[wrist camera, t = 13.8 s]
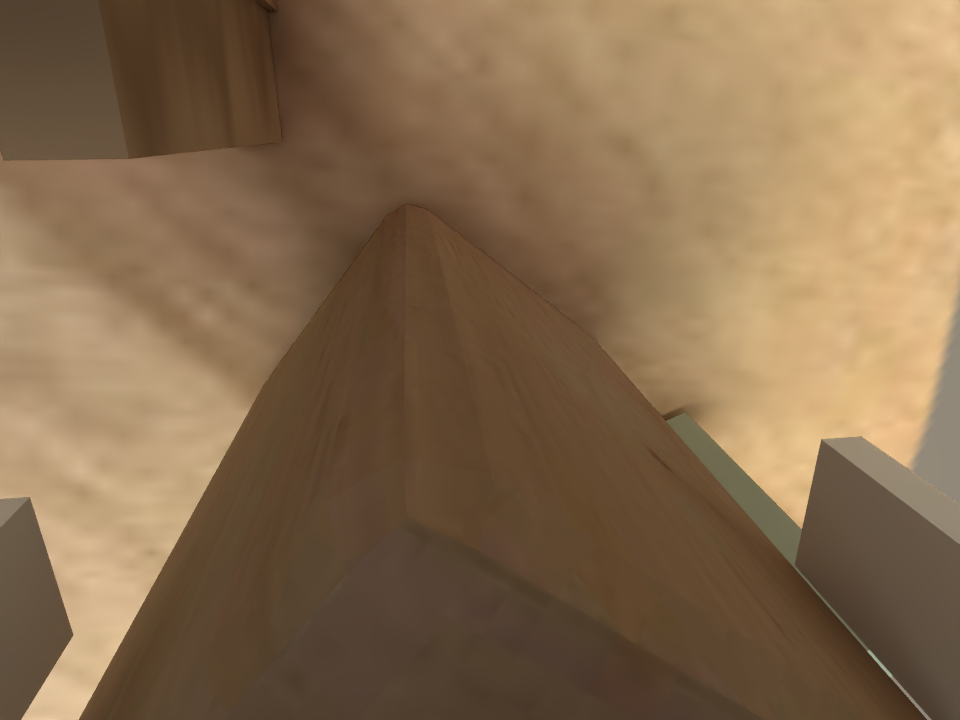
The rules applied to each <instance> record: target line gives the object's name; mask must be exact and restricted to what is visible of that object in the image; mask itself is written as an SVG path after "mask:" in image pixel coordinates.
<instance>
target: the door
mask: <svg viewBox="0 0 960 720" xmlns="http://www.w3.org/2000/svg"><path fill="white" fill-rule="evenodd" d="M666 422H667V423H668V424H669V425H670V426H671V427H672V429H673V430H674V431H675V432H676V433H677V434H678V436H679V437H680V438H681V439H682V440H683V441H684V442H685V444H686V445H687V446H688V447H689V448H690V449H691V450H692V452H693V453H694V454H695V455H696V456H697V457H698V458H699V460H700V461H701V462H702V463H703V464H704V465H705V466H706V468H707V469H708V470H709V471H710V472H711V473H712V474H713V476H714V477H715V478H716V479H717V480H718V481H719V482H720V484H721V485H722V486H723V487H724V488H725V489H726V490H727V492H728V493H729V494H730V495H731V496H732V497H733V498H734V500H735V501H736V502H737V503H738V504H739V505H740V506H741V508H742V509H743V510H744V511H745V512H746V513H747V514H748V516H749V517H750V518H751V519H752V520H753V521H754V522H755V524H756V525H757V526H758V527H759V528H760V529H761V530H762V532H763V533H764V534H765V535H766V536H767V537H768V538H769V540H770V541H771V542H772V543H773V544H774V545H775V546H776V548H777V549H778V550H779V551H780V552H781V553H782V554H783V556H784V557H785V558H786V559H787V560H788V561H789V562H790V564H791V565H792V566H793V567H794V568H795V569H796V570H797V572H798V573H799V574H800V575H801V576H802V577H803V578H804V580H805V581H806V582H807V583H808V584H809V585H810V586H811V588H812V589H813V590H814V591H815V592H816V593H817V595H818V596H819V597H820V598H821V599H822V600H823V601H824V603H825V604H826V605H827V606H828V607H829V608H830V609H831V611H832V612H833V613H834V614H835V615H836V616H837V617H838V619H839V620H840V621H841V622H842V623H843V624H844V625H845V627H846V628H847V629H848V630H849V631H850V632H851V633H852V635H853V636H854V637H855V638H856V639H857V640H858V641H859V643H860V644H861V645H862V646H863V647H864V648H865V649H866V651H867V652H868V653H869V654H870V655H871V656H872V657H873V659H874V660H875V661H876V662H877V663H878V664H879V665H880V667H881V668H882V669H883V670H884V671H885V672H886V673H887V675H888V676H889V677H890V678H891V677H893V676H892V674H891V673H890V672H889V671H888V670H887V669H886V668H885V667H884V665H883V664H882V663H881V662H880V661H879V660H878V659H877V658H876V656H875V655H874V654H873V653H872V652H871V651H870V650H869V649H868V647H867V646H866V645H865V644H864V643H863V642H862V641H861V640H860V638H859V637H858V636H857V635H856V634H855V633H854V632H853V631H852V629H851V628H850V627H849V626H848V625H847V624H846V623H845V622H844V620H843V619H842V618H841V617H840V616H839V615H838V614H837V613H836V611H835V610H834V609H833V608H832V607H831V606H830V605H829V604H828V602H827V601H826V600H825V599H824V598H823V597H822V596H821V595H820V593H819V592H818V591H817V590H816V589H815V588H814V587H813V586H812V584H811V583H810V582H809V581H808V580H807V579H806V578H805V577H804V575H803V574H802V573H801V572H800V571H799V570H798V569H797V568H796V566H795V560H796V556H797V551H798V546H799V542H800V537H801V532H802V529H801V528H800V527H799V526H798V525H797V524H796V523H795V522H794V521H793V520H792V519H791V518H790V517H789V516H788V515H787V514H786V513H785V512H784V511H783V510H782V509H781V508H780V507H779V506H778V505H777V504H776V503H775V502H774V501H773V500H772V499H771V498H770V497H769V496H768V495H767V494H766V493H765V492H764V491H763V490H762V489H761V488H760V487H759V486H758V485H757V484H756V483H755V482H754V481H753V480H752V479H751V478H750V477H749V476H748V475H747V474H746V473H745V472H744V471H743V470H742V469H741V468H740V467H739V466H738V465H737V464H736V463H735V462H734V461H733V460H732V459H731V458H730V457H729V456H728V455H727V454H726V452H725V451H724V450H723V449H722V448H721V447H720V446H719V445H718V444H717V443H716V442H715V441H714V440H713V439H712V438H711V437H710V436H709V435H708V434H707V433H706V432H705V431H704V430H703V429H702V428H701V427H700V426H699V425H698V424H697V423H696V422H695V421H694V420H693V419H692V418H691V417H690V416H689V415H688V414H687V413H686V412H684V413H682V414H680V415H678V416H676V417H673V418H671V419H669V420H667V421H666Z"/></svg>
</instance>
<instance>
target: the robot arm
mask: <svg viewBox="0 0 960 720" xmlns="http://www.w3.org/2000/svg"><path fill="white" fill-rule="evenodd" d="M795 566H796V568H797V569H798V570H799V571H800V572H801V573H802V574H803V575H804V577H805V578H806V579H807V580H808V581H809V582H810V583H811V584H812V586H813V587H814V588H815V589H816V590H817V591H818V592H819V593H820V595H821V596H822V597H823V598H824V599H825V600H826V601H827V602H828V604H829V605H830V606H831V607H832V608H833V609H834V610H835V611H836V613H837V614H838V615H839V616H840V617H841V618H842V619H843V620H844V622H845V623H846V624H847V625H848V626H849V627H850V628H851V629H852V631H853V632H854V633H855V634H856V635H857V636H858V637H859V638H860V640H861V641H862V642H863V643H864V644H865V645H866V646H867V647H868V649H869V650H870V651H871V652H872V653H873V654H874V655H875V656H876V658H877V659H878V660H879V661H880V662H881V663H882V664H883V665H884V667H885V668H886V669H887V670H888V671H889V672H890V673H891V674H892V676H893V677H894V678H895V679H896V680H897V681H898V682H899V683H900V684H901V686H902V687H903V688H904V689H905V690H906V691H907V692H908V693H909V695H910V696H911V697H912V698H913V699H914V700H915V701H916V703H917V704H918V705H919V706H920V707H921V708H922V709H923V710H924V712H925V713H926V714H927V715H928V716H929V717H930V718H931V719H932V720H960V504H958V503H957V502H955V501H954V500H953V499H951V498H949V497H948V496H947V495H945V494H944V493H942V492H941V491H940V490H938V489H936V488H935V487H934V486H932V485H931V484H929V483H928V482H926V481H925V480H923V479H922V478H921V477H919V476H918V475H916V474H915V473H913V472H912V471H910V470H909V469H908V468H906V467H905V466H903V465H902V464H900V463H899V462H897V461H896V460H894V459H893V458H892V457H890V456H889V455H887V454H886V453H884V452H883V451H881V450H880V449H878V448H877V447H876V446H874V445H873V444H871V443H870V442H868V441H867V440H865V439H864V438H862V437H848V438H834V439H821V444H820V448H819V453H818V458H817V462H816V467H815V472H814V476H813V481H812V486H811V490H810V495H809V500H808V504H807V509H806V514H805V518H804V523H803V528H802V532H801V537H800V542H799V546H798V551H797V556H796V560H795ZM72 636H73V633H72V629H71V626H70V623H69V620H68V617H67V614H66V610H65V607H64V604H63V601H62V598H61V595H60V591H59V588H58V585H57V582H56V579H55V576H54V572H53V569H52V566H51V563H50V560H49V557H48V553H47V550H46V547H45V544H44V541H43V538H42V534H41V531H40V528H39V525H38V522H37V519H36V515H35V512H34V509H33V506H32V503H31V500H30V497H24V498H10V499H0V720H21V719H22V717H23V716H24V714H25V712H26V711H27V709H28V708H29V706H30V704H31V703H32V701H33V699H34V698H35V696H36V695H37V693H38V691H39V690H40V688H41V686H42V685H43V683H44V682H45V680H46V678H47V677H48V675H49V674H50V672H51V670H52V669H53V667H54V665H55V664H56V662H57V661H58V659H59V657H60V656H61V654H62V653H63V651H64V649H65V648H66V646H67V644H68V643H69V641H70V640H71V638H72Z"/></svg>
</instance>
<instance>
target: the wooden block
mask: <svg viewBox="0 0 960 720" xmlns="http://www.w3.org/2000/svg"><path fill="white" fill-rule="evenodd" d="M79 720H927V719H926V718H925V717H924V716H923V715H922V713H921V712H920V711H919V710H918V709H917V708H916V707H915V705H914V704H913V703H912V702H911V701H910V700H909V699H908V697H907V696H906V695H905V694H904V693H903V692H902V691H901V689H900V688H899V687H898V686H897V685H896V684H895V683H894V682H893V680H892V679H891V678H890V677H889V676H888V675H887V673H886V672H885V671H884V670H883V669H882V668H881V667H880V665H879V664H878V663H877V662H876V661H875V660H874V659H873V657H872V656H871V655H870V654H869V653H868V652H867V651H866V649H865V648H864V647H863V646H862V645H861V644H860V643H859V641H858V640H857V639H856V638H855V637H854V636H853V635H852V633H851V632H850V631H849V630H848V629H847V628H846V627H845V625H844V624H843V623H842V622H841V621H840V620H839V619H838V617H837V616H836V615H835V614H834V613H833V612H832V611H831V609H830V608H829V607H828V606H827V605H826V604H825V603H824V601H823V600H822V599H821V598H820V597H819V596H818V595H817V593H816V592H815V591H814V590H813V589H812V588H811V586H810V585H809V584H808V583H807V582H806V581H805V580H804V578H803V577H802V576H801V575H800V574H799V573H798V572H797V570H796V569H795V568H794V567H793V566H792V565H791V564H790V562H789V561H788V560H787V559H786V558H785V557H784V556H783V554H782V553H781V552H780V551H779V550H778V549H777V548H776V546H775V545H774V544H773V543H772V542H771V541H770V540H769V538H768V537H767V536H766V535H765V534H764V533H763V532H762V530H761V529H760V528H759V527H758V526H757V525H756V524H755V522H754V521H753V520H752V519H751V518H750V517H749V516H748V514H747V513H746V512H745V511H744V510H743V509H742V508H741V506H740V505H739V504H738V503H737V502H736V501H735V500H734V498H733V497H732V496H731V495H730V494H729V493H728V492H727V490H726V489H725V488H724V487H723V486H722V485H721V484H720V482H719V481H718V480H717V479H716V478H715V477H714V476H713V474H712V473H711V472H710V471H709V470H708V469H707V468H706V466H705V465H704V464H703V463H702V462H701V461H700V460H699V458H698V457H697V456H696V455H695V454H694V453H693V452H692V450H691V449H690V448H689V447H688V446H687V445H686V444H685V442H684V441H683V440H682V439H681V438H680V437H679V436H678V434H677V433H676V432H675V431H674V430H673V429H672V427H671V426H670V425H669V424H668V423H667V422H666V421H665V419H664V418H663V417H662V416H661V415H660V414H659V413H658V411H657V410H656V409H655V408H654V407H653V406H652V405H651V403H650V402H649V401H648V400H647V399H646V398H645V397H644V395H643V394H642V393H641V392H640V391H639V390H638V389H637V387H636V386H635V385H634V384H633V383H632V382H631V381H630V379H629V378H628V377H627V376H626V375H625V374H624V373H623V371H622V370H621V369H620V368H619V367H618V366H617V365H616V363H615V362H614V361H613V360H612V359H611V358H610V357H609V355H608V354H607V353H606V352H605V351H604V350H603V349H602V347H601V346H600V345H599V344H598V343H597V342H596V341H595V339H594V338H593V337H592V336H590V335H589V334H588V333H586V332H585V331H584V330H583V329H581V328H580V327H579V326H577V325H576V324H575V323H574V322H572V321H571V320H570V319H568V318H567V317H566V316H564V315H563V314H562V313H561V312H559V311H558V310H557V309H555V308H554V307H553V306H552V305H550V304H549V303H548V302H546V301H545V300H544V299H543V298H541V297H540V296H539V295H537V294H536V293H535V292H534V291H532V290H531V289H530V288H528V287H527V286H526V285H524V284H523V283H522V282H521V281H519V280H518V279H517V278H515V277H514V276H513V275H512V274H510V273H509V272H508V271H506V270H505V269H504V268H503V267H501V266H500V265H499V264H497V263H496V262H495V261H494V260H492V259H491V258H490V257H488V256H487V255H486V254H484V253H483V252H482V251H481V250H479V249H478V248H477V247H475V246H474V245H473V244H472V243H470V242H469V241H468V240H466V239H465V238H464V237H463V236H461V235H460V234H459V233H457V232H456V231H455V230H454V229H452V228H451V227H450V226H448V225H447V224H446V223H444V222H443V221H442V220H441V219H439V218H438V217H437V216H435V215H434V214H433V213H432V212H430V211H429V210H428V209H424V208H421V207H417V206H413V205H410V204H405V205H403V206H401V207H400V208H398V209H396V210H395V211H393V212H391V213H390V214H388V215H387V216H386V218H385V219H384V220H383V222H382V223H381V224H380V226H379V227H378V229H377V230H376V231H375V233H374V234H373V235H372V237H371V238H370V240H369V241H368V242H367V244H366V245H365V246H364V248H363V249H362V251H361V252H360V253H359V255H358V256H357V257H356V259H355V260H354V262H353V263H352V264H351V266H350V267H349V268H348V270H347V271H346V273H345V274H344V275H343V277H342V278H341V279H340V281H339V282H338V284H337V285H336V286H335V288H334V289H333V290H332V292H331V293H330V295H329V296H328V297H327V299H326V300H325V302H324V303H323V304H322V306H321V307H320V308H319V310H318V311H317V313H316V314H315V315H314V317H313V318H312V319H311V321H310V322H309V324H308V325H307V326H306V328H305V329H304V330H303V332H302V333H301V335H300V336H299V337H298V339H297V340H296V341H295V343H294V344H293V346H292V347H291V348H290V350H289V351H288V352H287V354H286V355H285V357H284V358H283V359H282V361H281V362H280V363H279V365H278V366H277V368H276V369H275V370H274V372H273V373H272V374H271V376H270V377H269V379H268V380H267V381H266V383H265V384H264V385H263V387H262V389H261V391H260V393H259V394H258V396H257V398H256V400H255V402H254V403H253V405H252V407H251V409H250V411H249V413H248V414H247V416H246V418H245V420H244V422H243V423H242V425H241V427H240V429H239V431H238V432H237V434H236V436H235V438H234V440H233V442H232V443H231V445H230V447H229V449H228V451H227V452H226V454H225V456H224V458H223V460H222V461H221V463H220V465H219V467H218V469H217V470H216V472H215V474H214V476H213V478H212V480H211V481H210V483H209V485H208V487H207V489H206V490H205V492H204V494H203V496H202V498H201V499H200V501H199V503H198V505H197V507H196V508H195V510H194V512H193V514H192V516H191V518H190V519H189V521H188V523H187V525H186V527H185V528H184V530H183V532H182V534H181V536H180V537H179V539H178V541H177V543H176V545H175V547H174V548H173V550H172V552H171V554H170V556H169V557H168V559H167V561H166V563H165V565H164V566H163V568H162V570H161V572H160V574H159V575H158V577H157V579H156V581H155V583H154V585H153V586H152V588H151V590H150V592H149V594H148V595H147V597H146V599H145V601H144V603H143V604H142V606H141V608H140V610H139V612H138V614H137V615H136V617H135V619H134V621H133V623H132V624H131V626H130V628H129V630H128V632H127V633H126V635H125V637H124V639H123V641H122V642H121V644H120V646H119V648H118V650H117V652H116V653H115V655H114V657H113V659H112V661H111V662H110V664H109V666H108V668H107V670H106V671H105V673H104V675H103V677H102V679H101V681H100V682H99V684H98V686H97V688H96V690H95V691H94V693H93V695H92V697H91V699H90V700H89V702H88V704H87V706H86V708H85V709H84V711H83V713H82V715H81V717H80V719H79Z"/></svg>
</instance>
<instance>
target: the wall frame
mask: <svg viewBox="0 0 960 720" xmlns="http://www.w3.org/2000/svg"><path fill="white" fill-rule="evenodd" d="M268 11H274V12H277V3H276V0H0V149H1V153H2V157H3V160H80V159H132V158H141V157H150V156H159V155H168V154H177V153H186V152H195V151H204V150H213V149H222V148H231V147H240V146H249V145H258V144H267V143H276V142H282V135H281V126H280V117H279V107H278V98H277V89H276V80H275V71H274V62H273V53H272V44H271V35H270V26H269V17H268Z"/></svg>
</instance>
